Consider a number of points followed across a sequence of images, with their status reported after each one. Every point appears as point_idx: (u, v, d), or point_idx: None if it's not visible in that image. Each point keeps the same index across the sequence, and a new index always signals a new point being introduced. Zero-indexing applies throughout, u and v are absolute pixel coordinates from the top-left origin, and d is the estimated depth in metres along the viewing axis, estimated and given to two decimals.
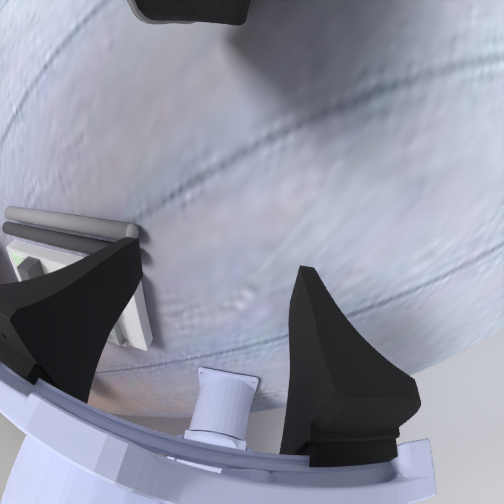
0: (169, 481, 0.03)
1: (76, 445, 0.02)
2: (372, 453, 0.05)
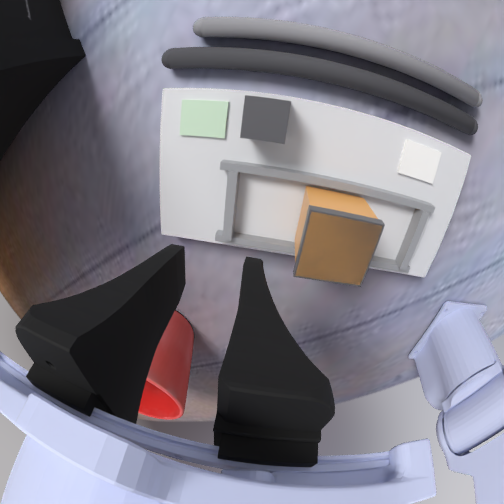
0: (169, 481, 0.03)
1: (76, 445, 0.02)
2: (286, 455, 0.05)
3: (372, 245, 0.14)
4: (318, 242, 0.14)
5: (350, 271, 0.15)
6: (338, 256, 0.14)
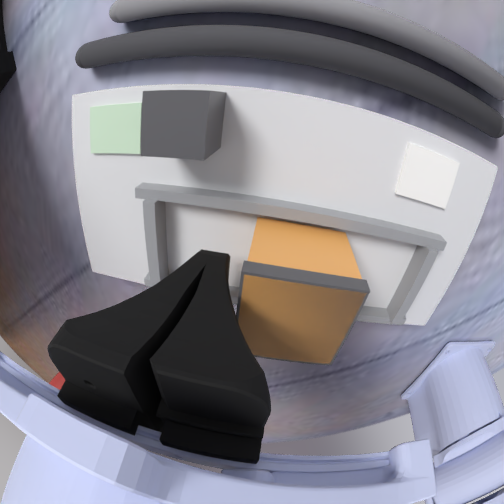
0: (169, 481, 0.03)
1: (76, 445, 0.02)
2: (227, 448, 0.05)
3: (348, 319, 0.09)
4: (261, 315, 0.09)
5: (314, 349, 0.10)
6: (294, 333, 0.09)
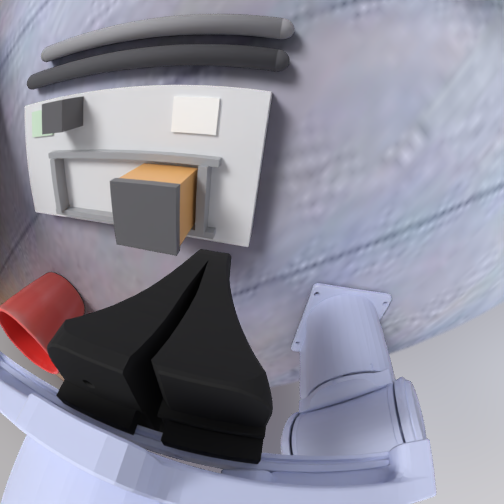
0: (168, 481, 0.03)
1: (76, 445, 0.02)
2: (229, 448, 0.05)
3: (171, 210, 0.14)
4: (123, 210, 0.14)
5: (160, 238, 0.15)
6: (143, 223, 0.15)
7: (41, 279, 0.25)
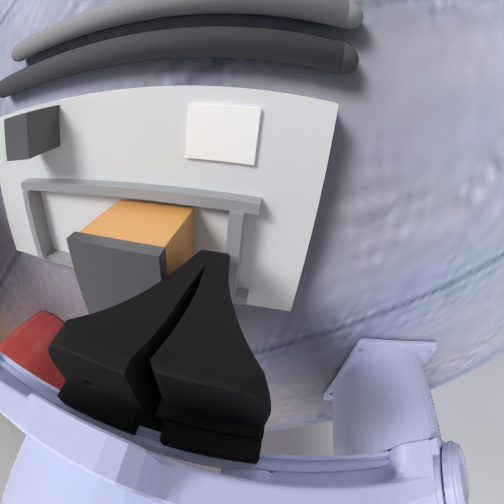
0: (169, 481, 0.03)
1: (76, 445, 0.02)
2: (227, 448, 0.05)
3: None
4: (91, 279, 0.10)
5: None
6: (119, 298, 0.10)
7: (33, 321, 0.21)
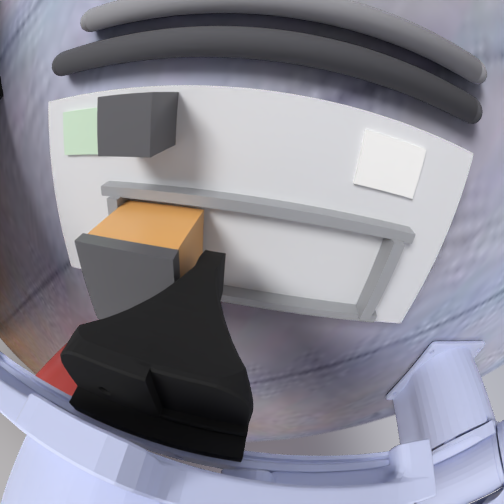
0: (169, 481, 0.03)
1: (76, 445, 0.02)
2: (211, 445, 0.05)
3: None
4: (99, 281, 0.09)
5: None
6: (129, 301, 0.10)
7: None
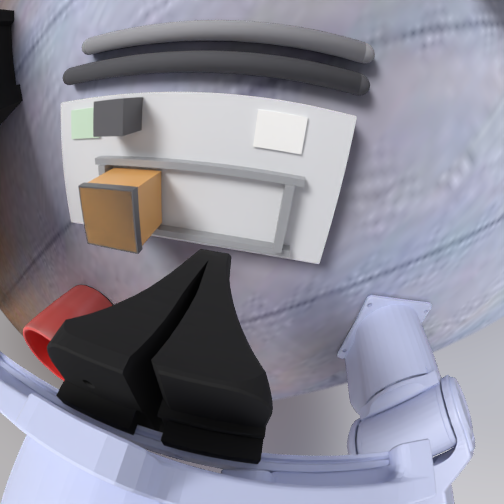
0: (168, 481, 0.03)
1: (76, 445, 0.02)
2: (228, 448, 0.05)
3: (130, 211, 0.14)
4: (91, 212, 0.15)
5: (123, 238, 0.15)
6: (108, 224, 0.15)
7: (72, 293, 0.26)
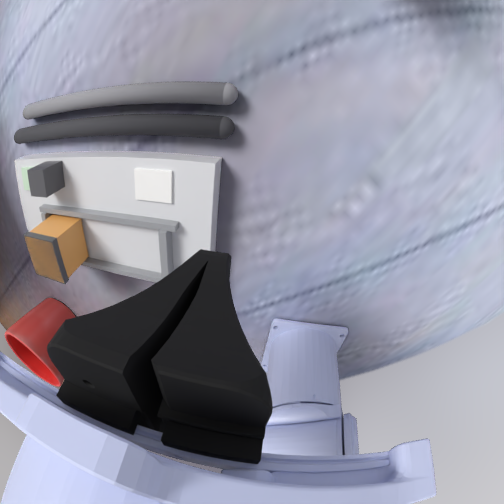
0: (168, 481, 0.03)
1: (76, 445, 0.02)
2: (228, 448, 0.05)
3: (54, 255, 0.17)
4: (34, 253, 0.18)
5: (54, 272, 0.18)
6: (44, 262, 0.18)
7: (42, 305, 0.29)
